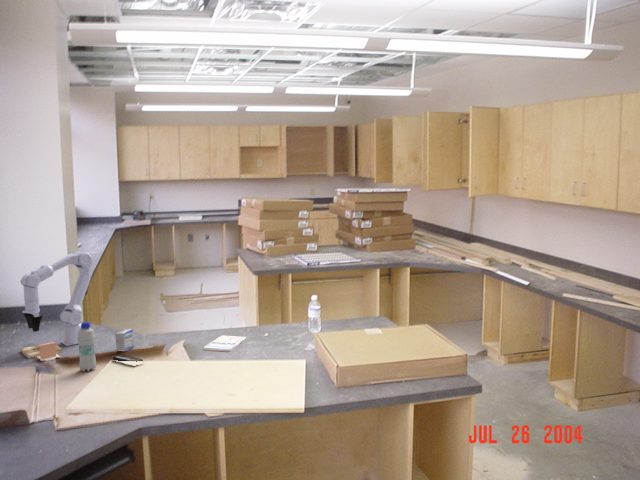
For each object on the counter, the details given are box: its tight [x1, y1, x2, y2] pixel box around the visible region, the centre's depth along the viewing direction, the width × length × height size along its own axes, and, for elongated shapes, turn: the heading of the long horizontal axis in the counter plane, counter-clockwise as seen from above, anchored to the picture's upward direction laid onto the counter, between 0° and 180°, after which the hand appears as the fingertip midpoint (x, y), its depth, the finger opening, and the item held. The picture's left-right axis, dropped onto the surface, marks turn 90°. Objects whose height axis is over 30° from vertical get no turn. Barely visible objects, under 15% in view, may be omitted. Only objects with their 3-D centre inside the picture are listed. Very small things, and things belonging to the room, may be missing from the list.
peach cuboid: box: [38, 341, 57, 359], centre depth 246 cm, size 6×2×6 cm, turn 130°
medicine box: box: [115, 328, 135, 352], centre depth 257 cm, size 8×4×9 cm, turn 168°
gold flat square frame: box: [20, 343, 63, 360], centre depth 256 cm, size 14×14×2 cm
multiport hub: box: [112, 354, 144, 362], centre depth 239 cm, size 4×14×2 cm, turn 58°
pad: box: [38, 353, 61, 362], centre depth 247 cm, size 8×8×1 cm
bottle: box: [77, 321, 97, 372], centre depth 229 cm, size 7×7×20 cm
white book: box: [203, 334, 247, 352], centre depth 263 cm, size 13×20×2 cm, turn 164°
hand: (33, 329), depth 255 cm, fingers open, 7 cm apart
